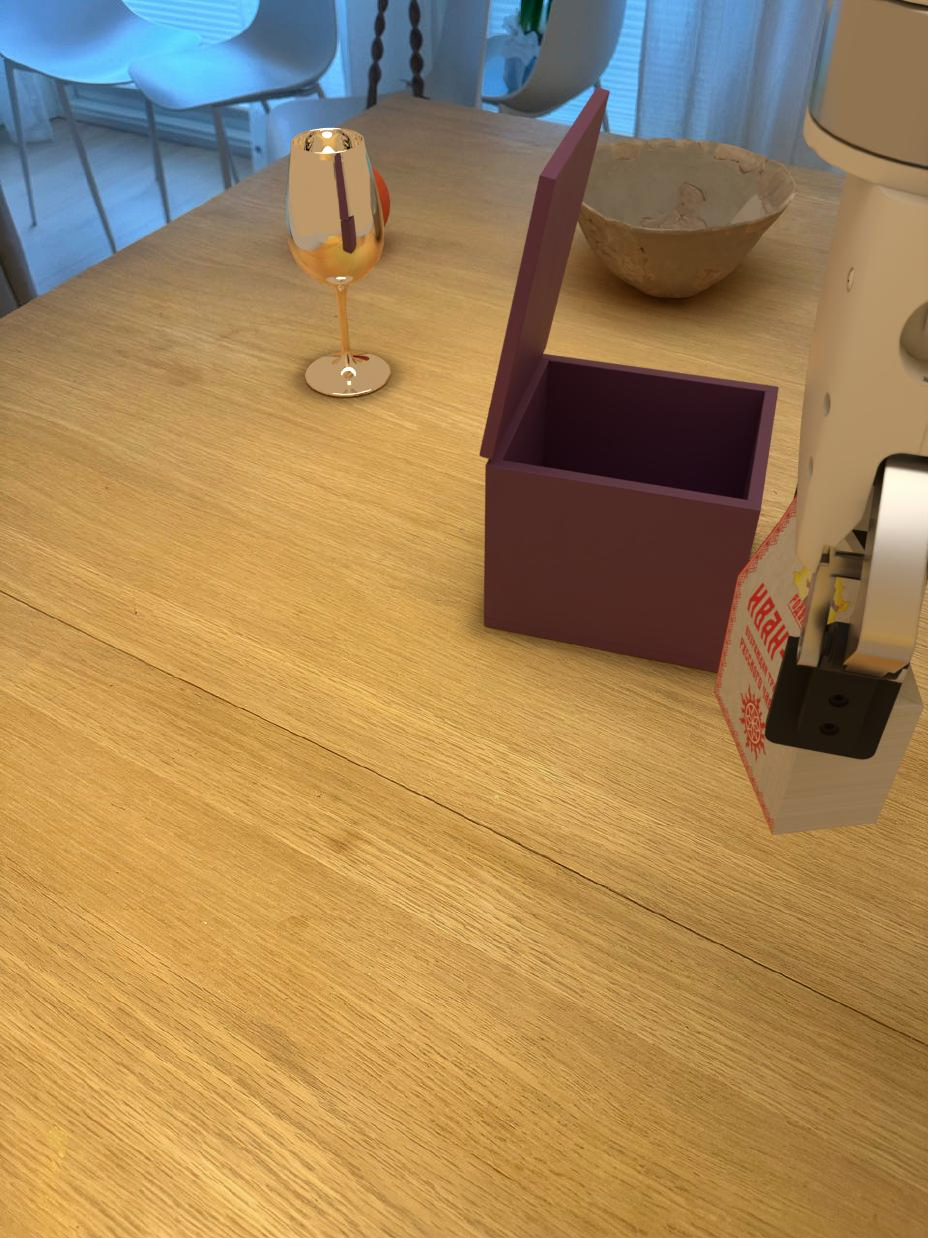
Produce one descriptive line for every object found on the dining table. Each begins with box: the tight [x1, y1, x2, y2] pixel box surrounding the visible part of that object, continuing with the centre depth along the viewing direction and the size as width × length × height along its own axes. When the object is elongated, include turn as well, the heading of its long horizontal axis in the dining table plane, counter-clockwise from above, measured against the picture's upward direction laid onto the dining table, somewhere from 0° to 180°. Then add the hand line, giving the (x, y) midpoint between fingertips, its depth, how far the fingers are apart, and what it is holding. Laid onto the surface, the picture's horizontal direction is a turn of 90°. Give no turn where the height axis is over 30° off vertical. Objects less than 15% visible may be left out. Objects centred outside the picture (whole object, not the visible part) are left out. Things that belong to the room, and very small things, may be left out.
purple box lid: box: [479, 86, 611, 460], centre depth 59 cm, size 16×14×1 cm
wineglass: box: [285, 127, 392, 398], centre depth 86 cm, size 8×8×20 cm
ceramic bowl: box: [577, 137, 798, 299], centre depth 104 cm, size 22×23×10 cm
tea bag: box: [713, 495, 925, 836], centre depth 35 cm, size 4×7×10 cm, turn 7°
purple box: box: [483, 353, 780, 673], centre depth 68 cm, size 16×14×13 cm
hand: (821, 647), depth 35 cm, fingers closed on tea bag, 7 cm apart
